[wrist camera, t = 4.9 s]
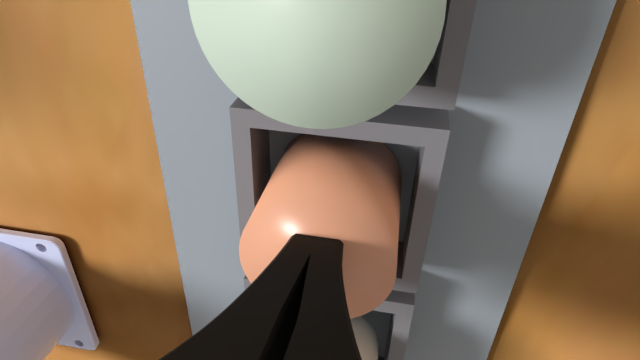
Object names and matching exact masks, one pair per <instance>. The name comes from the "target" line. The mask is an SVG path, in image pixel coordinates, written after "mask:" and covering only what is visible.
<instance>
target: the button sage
mask: <svg viewBox="0 0 640 360" xmlns="http://www.w3.org/2000/svg"><path fill="white" fill-rule="evenodd" d="M446 3H447V0H188V5H189V11H190V16H191V21H192V24H193V27H194V31H195V34H196V37H197V39H198V41H199V44H200V46H201V49H202V51H203V53H204V54H205V56H206V58H207V60H208V62H209V63H210V65H211V66H212V68H213V69H214V71H215V72H216V73H217V75H218V76H219V78H220V79H221V80H222V81H223V82H224V83H225V84H226V86H227V87H228V88H229V89H230V90H231V91H232V92H233V93H234V94H235V95H237V96H238V97H239V98H240V99H241V100H242V101H244V102H245V103H246V104H248V105H249V106H251V107H252V108H253V109H255V110H257V111H259V112H260V113H262V114H264V115H266V116H268V117H270V118H272V119H275V120H277V121H279V122H282V123H286V124H289V125H293V126H297V127H303V128H309V129H334V128H342V127H347V126H352V125H355V124H358V123H361V122H364V121H367V120H369V119H371V118H373V117H375V116H377V115H380V114H381V113H383V112H384V111H386V110H387V109H389V108H391V107H392V106H394V105H395V104H396V103H397V102H398V101H400V100H401V99H402V98H403V97H404V96H405V95H406V94H407V93H408V92H409V91H410V90H411V89H412V88H413V87H414V86H415V85H416V83H417V82H418V81H419V79H420V78H421V76H422V75H423V74H424V72H425V71H426V69H427V67H428V65H429V63H430V62H431V60H432V58H433V56H434V54H435V51H436V48H437V46H438V43H439V40H440V38H441V33H442V29H443V25H444V21H445V12H446Z"/></svg>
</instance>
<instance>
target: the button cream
mask: <svg viewBox="0 0 640 360" xmlns="http://www.w3.org/2000/svg"><path fill="white" fill-rule="evenodd" d="M350 320H351V324H352V328H353V332H354V335H355V339H356V342H357V346H358V349H359V352H360V355H361V358H362V360H378V350H379V341H378V337H377V334H376V332H375V330H374V329H373V327H372V326H371V325H370V324H369V323H368V322H367V321H366V320H365V319H364V318H363V317H362V316H359V317H355V318H352V319H350Z"/></svg>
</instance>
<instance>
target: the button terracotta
mask: <svg viewBox="0 0 640 360" xmlns="http://www.w3.org/2000/svg"><path fill="white" fill-rule="evenodd" d="M401 186H402V178H401V172H400V168H399V165H398V163H397V160H396V159H395V157H394V155H393V153H392V152H391V151H390V150H389V148H388V147H387V146H386V145H385V144H384V143H383V142H374V141H365V140H356V139H347V138H338V137H329V136H320V135H311V134H302V133H301V134H300V135H299V136H297V137H296V138H295V139H294V140H293V141H292V142H291V143H290V144H289V145H288V146H287V148H286V149H285V151H284V153H283V155H282V157H281V159H280V160H279V162H278V164H277V166H276V168H275V170H274V172H273V174H272V176H271V178H270V180H269V182H268V184H267V186H266V188H265V189H264V191H263V193H262V195H261V197H260V199H259V201H258V203H257V205H256V207H255V209H254V211H253V213H252V215H251V217H250V218H249V220H248V222H247V224H246V226H245V228H244V230H243V232H242V235H241V238H240V243H239V257H240V262H241V265H242V268H243V271H244V273H245V275H246V277H247V278H248V280H249V281H250V283H252V282H253V281H254V280H255V279H256V278H257V277H258V276H259V275H260V274H261V273H262V272H263V270H264V269H265V268H266V267H267V266H268V265H269V264H270V263H271V261H272V260H273V259H274V258H275V257H276V255H277V254H278V253H279V252H280V251H281V249H282V248H283V247H284V245H285V244H286V243H287V242H288V240H289V239H290V237H291V236H292V235H294V234H295V233H297V234H304V235H311V236H318V237H325V238H332V239H339V240H341V241H342V242H343V243H344V247H343V260H342V272H343V282H344V289H345V295H346V301H347V306H348V311H349V315H350V319H352V318H355V317H359V316H362V315H364V314H366V313H368V312H370V311H372V310H374V309H375V308H377V307H378V306H379V305H380V304H382V303H383V301H384V300H385V299H386V298H387V297H388V295H389V294H390V293H391V291H392V289H393V286H394V284H395V280H396V271H397V255H398V238H399V221H400V204H401Z"/></svg>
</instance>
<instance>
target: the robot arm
mask: <svg viewBox="0 0 640 360" xmlns="http://www.w3.org/2000/svg"><path fill="white" fill-rule="evenodd" d="M343 247H344V243H343V242H342V241H341V240H339V239H332V238H325V237H318V236H311V235H304V234H297V233H295V234H294V235H292V236H291V237H290V239H289V240H288V242H287V243H286V244H285V245H284V247H283V248H282V249H281V251H280V252H279V253H278V254H277V255H276V257H275V258H274V259H273V260H272V261H271V263H270V264H269V265H268V266H267V267H266V268H265V269H264V270H263V272H262V273H261V274H260V275H259V276H258V277H257V278H256V279H255V280H254V281H253V282H252V283H251V285H250V286H249V287H248V288H247V289H245V290H244V291H243V292H242V293H241V294H240V295H239V296H238V297H237V298H236V299H235V300H234V301H233V302H232V303H231V304H230V305H229V306H228V307H227V308H226V309H225V310H223V311H222V312H221V313H220V314H219V315H218V316H217V317H215V318H214V319H213V320H212V321H211V322H209V323H208V324H207V325H206V326H205V327H203V328H202V329H201V330H200V331H198V332H197V333H196V334H194V335H193V336H192V337H190V338H189V339H188V340H186V341H185V342H184V343H182V344H181V345H180V346H178V347H177V348H175V349H174V350H172V351H171V352H170V353H168V354H167V355H165V356H164V357H162V358H161V359H159V360H362V358H361V355H360V352H359V349H358V346H357V342H356V339H355V335H354V332H353V328H352V324H351V320H350V315H349V311H348V306H347V301H346V295H345V289H344V282H343V272H342V260H343ZM56 344H59V345H65V346H70V347H75V348H81V349H86V350H95V349H96V347H97V346H98V345H99V339H98V337H97V334H96V331H95V328H94V325H93V323H92V320H91V317H90V314H89V312H88V309H87V306H86V303H85V300H84V298H83V295H82V292H81V289H80V286H79V284H78V281H77V278H76V275H75V272H74V270H73V267H72V264H71V261H70V258H69V256H68V253H67V250H66V247H65V245H64V243H63V242H62V241H61V240H60V239H58V238H56V237H53V236H46V235H40V234H33V233H27V232H20V231H14V230H7V229H1V228H0V360H44V359H45V358H46V357H47V356H48V354H49V353H50V352H51V351H52V349H53V348H54V347H55V346H56Z"/></svg>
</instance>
